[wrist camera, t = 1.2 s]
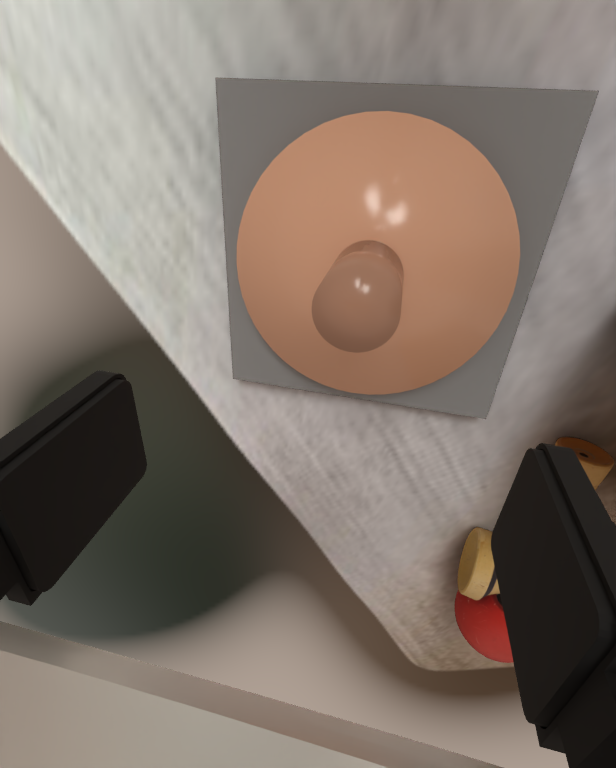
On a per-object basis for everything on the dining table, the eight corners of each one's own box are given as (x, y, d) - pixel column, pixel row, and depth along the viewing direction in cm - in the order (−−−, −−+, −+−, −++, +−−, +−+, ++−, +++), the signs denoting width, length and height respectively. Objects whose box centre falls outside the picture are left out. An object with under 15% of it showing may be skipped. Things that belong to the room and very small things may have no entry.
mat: (224, 80, 19) (215, 77, 19) (589, 93, 17) (598, 90, 16) (238, 371, 28) (233, 378, 27) (483, 409, 25) (485, 419, 24)
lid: (237, 105, 19) (173, 93, 14) (561, 119, 17) (624, 112, 12) (247, 367, 26) (207, 422, 21) (473, 402, 24) (488, 472, 19)
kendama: (492, 411, 27) (424, 599, 34) (541, 470, 21) (446, 680, 28) (607, 426, 27) (514, 609, 34) (685, 487, 21) (554, 692, 29)
